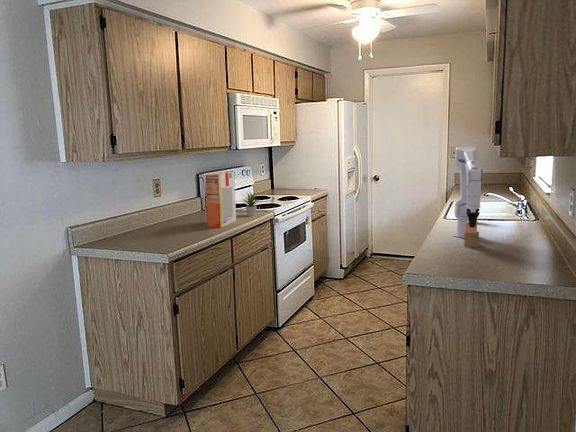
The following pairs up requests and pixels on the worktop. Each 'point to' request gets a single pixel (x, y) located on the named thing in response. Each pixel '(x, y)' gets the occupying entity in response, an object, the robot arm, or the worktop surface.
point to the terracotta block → (470, 229)
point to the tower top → (471, 236)
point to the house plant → (251, 204)
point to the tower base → (471, 243)
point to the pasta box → (220, 198)
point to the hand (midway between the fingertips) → (472, 225)
